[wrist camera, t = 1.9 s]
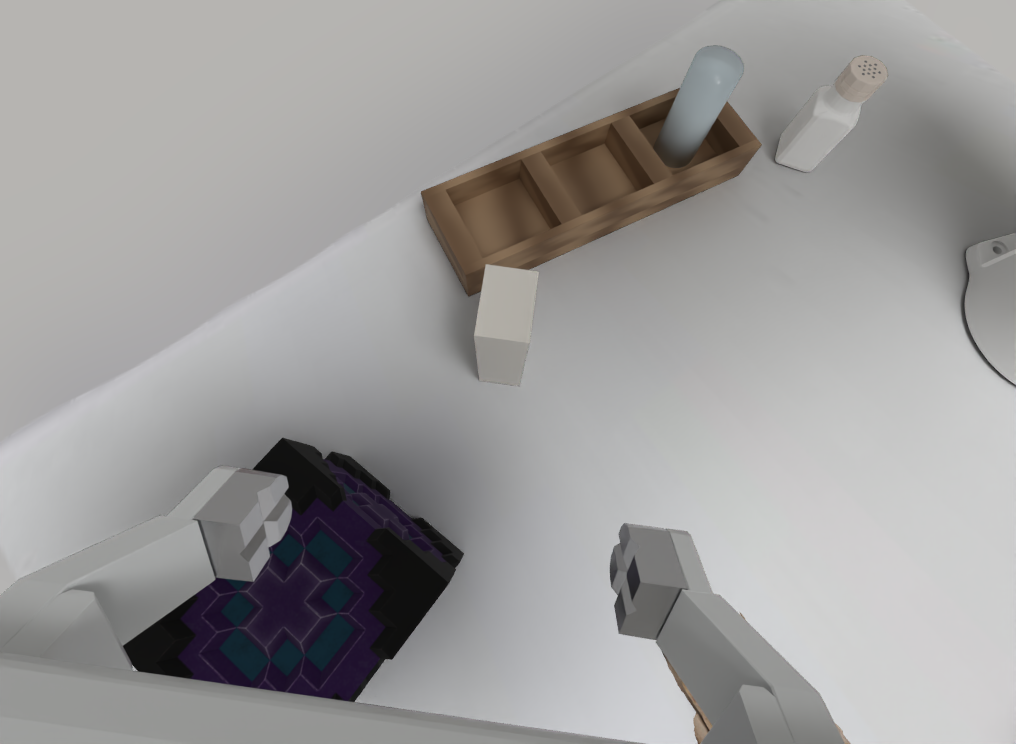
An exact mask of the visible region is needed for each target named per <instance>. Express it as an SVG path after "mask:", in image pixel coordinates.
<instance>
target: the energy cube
mask: <svg viewBox="0 0 1016 744" xmlns="http://www.w3.org/2000/svg"><path fill="white" fill-rule="evenodd" d="M253 470H256V471H262V472H268V473H274V474H280V475H283V476H286V477H287V481H288V486H289V488H288V489H287V490H286V492H285V493H284V494H285V495H286V496H287V497H288V498H289V499H290V500H291V505H292V514H291V520H290V523H289V525H288V528H287V531H286V532H285V534H284V536H283V537H282V539H281V540H280V541H279V542H277V543H275V544H274V545H272V546H270V547H269V553H270V557H269V559H268V560H267V562H266V564H265V565H264V567H263V568H262V570H261V571H260V573H259V574H258V576H257V577H256V579H255V580H254V582H251V581H242V580H233V579H224V578H215V580H214V581H213V582H212V583H210V584H209V585H207V586H206V587H205V588H203V589H202V590H200V591H199V592H198V593H196V594H195V595H193V596H192V597H191V598H189V599H188V600H186V601H185V602H184V603H182V604H181V605H179V606H178V607H176V608H175V609H174V610H172V611H171V612H169V613H168V614H167V615H165V616H164V617H162V618H161V619H160V620H158V621H157V622H155V623H154V624H153V625H151V626H150V627H148V628H147V629H146V630H144V631H143V632H141V633H140V634H139V635H137V636H136V637H134V638H133V639H132V640H130V641H129V642H127V643H126V644H124V645H123V648H124V650H125V652H126V653H127V655H128V657H129V659H130V661H131V663H132V665H133V666H134V667H135V668H136V669H137V670H138V671H139V672H145V673H152V674H159V675H166V676H173V677H180V678H187V679H194V680H202V681H209V682H216V683H223V684H230V685H237V686H244V687H251V688H258V689H265V690H272V691H279V692H286V693H293V694H300V695H307V696H314V697H321V698H328V699H335V700H342V701H349V702H354V701H355V700H356V699H357V697H358V696H359V695H360V693H361V692H362V691H363V689H364V688H365V686H366V685H367V683H368V682H369V681H370V679H371V678H372V677H373V675H374V674H375V673H376V671H377V670H378V669H379V667H380V666H381V664H382V663H383V661H384V660H385V659H391V660H392V659H393V658H394V656H395V655H396V654H397V652H398V651H399V649H400V648H401V647H402V645H403V644H404V643H405V641H406V640H407V639H408V637H409V636H410V635H411V633H412V632H413V631H414V629H415V628H416V627H417V625H418V624H419V623H420V621H421V620H422V619H423V617H424V616H425V615H426V613H427V612H428V611H429V609H430V608H431V607H432V605H433V604H434V603H435V601H436V600H437V599H438V597H439V596H440V595H441V593H442V592H443V591H444V589H445V588H446V587H447V585H448V584H449V582H450V580H451V578H452V576H453V574H454V572H455V570H456V569H455V568H456V566H457V565H458V564H459V562H460V561H461V559H462V557H463V555H464V553H463V552H461V551H460V550H459V549H458V548H457V547H456V546H454V545H453V544H452V543H451V542H450V541H449V540H447V539H446V538H445V537H444V536H443V535H442V534H440V533H439V532H438V531H437V530H436V529H434V528H433V527H432V526H431V525H430V524H429V523H427V522H426V521H425V520H424V519H423V518H416V519H412V518H410V517H409V516H408V515H407V514H406V513H405V512H403V511H402V510H401V509H400V508H399V507H398V506H396V505H395V504H394V503H393V502H392V501H391V500H389V496H390V490H389V489H388V488H386V487H385V486H384V485H383V484H382V483H381V482H379V481H378V480H377V479H376V478H375V477H374V476H372V475H371V474H370V473H369V472H368V471H367V470H365V469H364V468H363V467H362V466H361V465H359V464H358V463H357V462H356V461H355V460H354V459H352V458H351V457H350V456H346V455H343V454H339V453H335V452H331V453H330V454H329V455H328V456H327V457H326V459H323V458H322V454H321V453H320V452H319V451H318V450H317V449H316V448H315V447H313V446H310V445H307V444H303V443H299V442H296V441H292V440H289V439H285V438H282V439H281V440H280V441H279V442H278V443H277V444H276V445H275V446H274V447H273V448H272V449H271V450H270V451H269V452H268V453H267V455H266V456H265V457H264V458H263V459H262V460H261V461H260V462H259V463H258V464H257V465H256V466H255V467H254V468H253Z"/></svg>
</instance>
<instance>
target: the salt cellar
mask: <svg viewBox="0 0 1016 744" xmlns="http://www.w3.org/2000/svg"><path fill="white" fill-rule="evenodd" d="M743 72H744V65H743V62H742V60H741V58H740V57H739V56H738V55H737V54H736V53H735V52H734V51H732V50H730V49H728V48H726V47H723V46H716V45H713V46H707V47H704V48H702V49H700V50H699V51H698V52H697V53H696V55H695V57H694V59H693V61H692V63H691V66H690V68H689V70H688V72H687V74H686V76H685V79H684V81H683V83H682V85H681V87H680V90H679V92H678V94H677V96H676V98H675V100H674V103H673V105H672V107H671V109H670V111H669V114H668V116H667V118H666V120H665V122H664V124H663V127H662V129H661V131H660V133H659V135H658V138H657V140H656V142H655V144H654V150H655V152H656V153H657V155H658V156H659V157H660V159H661V160H662V162H663V163H664V164H665V166H668V167H671V168H681V167H684V166H686V165H688V164H689V163H690V162H691V161H692V159H693V157H694V156H695V154H696V152H697V151H698V149H699V147H700V146H701V144H702V142H703V141H704V139H705V137H706V135H707V134H708V132H709V130H710V129H711V127H712V125H713V124H714V122H715V120H716V119H717V117H718V115H719V113H720V112H721V110H722V108H723V107H724V105H725V103H726V102H727V100H728V98H729V97H730V95H731V93H732V92H733V90H734V88H735V86H736V85H737V83H738V81H739V80H740V78H741V76H742V74H743Z"/></svg>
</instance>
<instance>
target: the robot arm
mask: <svg viewBox="0 0 1016 744" xmlns="http://www.w3.org/2000/svg"><path fill="white" fill-rule="evenodd" d="M966 261H967V266H968V270H969V274H970V276H969V283H968V287H967V290H966V295H965V314H966V319H967V323H968V327H969V329H970V332H971V334H972V336H973V339H974V341H975V342H976V344H977V346H978V347H979V349H980V351H981V352H982V353H983V355H984V356H985V357H986V359H987V360H988V361H989V362H990V363H991V364H992V365H993V366H994V368H995V369H996V370H998V371H999V372H1000V373H1001V374H1002V375H1003V376H1004V377H1006V378H1007V379H1008V380H1009V381H1011V382H1012V383H1014V384H1015V385H1016V233H1013V234H1009V235H1005V236H1002V237H998V238H994V239H991V240H987V241H983V242H980V243H978V244H975V245H973V246H971V247H969V248H968V249H967V251H966ZM288 488H289V486H288V481H287V477H286V476H283V475H280V474H274V473H268V472H262V471H256V470H250V469H244V468H236V467H230V466H224V465H221V466H218V467H216V468H214V469H213V470H212V471H211V472H210V473H209V474H208V475H207V476H206V477H205V478H204V479H203V480H202V481H201V482H200V483H199V484H198V485H197V486H196V487H195V488H194V489H193V490H192V491H191V492H190V493H189V494H188V495H187V496H186V497H185V498H184V499H183V500H182V501H181V502H180V503H179V504H178V505H177V506H176V507H175V508H174V509H173V510H172V511H171V512H170V513H169V514H168V515H167V516H162V515H159V516H157V517H155V518H153V519H151V520H148V521H146V522H144V523H142V524H139V525H137V526H135V527H133V528H131V529H128V530H126V531H124V532H122V533H120V534H117V535H115V536H113V537H111V538H109V539H106V540H104V541H102V542H100V543H98V544H95V545H93V546H91V547H89V548H87V549H84V550H82V551H80V552H78V553H76V554H73V555H71V556H69V557H67V558H65V559H62V560H60V561H58V562H56V563H53V564H51V565H49V566H47V567H45V568H42V569H40V570H38V571H36V572H34V573H31V574H29V575H27V576H25V577H23V578H20V579H19V580H17V581H16V582H15V583H14V584H13V585H11V586H10V587H9V588H8V589H7V590H6V591H4V592H3V593H2V594H1V595H0V744H644V743H637V742H630V741H623V740H616V739H609V738H602V737H595V736H588V735H581V734H574V733H567V732H560V731H553V730H546V729H539V728H532V727H525V726H518V725H511V724H504V723H497V722H490V721H483V720H476V719H469V718H462V717H455V716H448V715H441V714H434V713H427V712H420V711H413V710H406V709H399V708H392V707H385V706H378V705H371V704H364V703H357V702H349V701H342V700H335V699H328V698H321V697H314V696H307V695H300V694H293V693H286V692H279V691H272V690H265V689H258V688H251V687H244V686H237V685H230V684H223V683H216V682H209V681H202V680H194V679H187V678H180V677H173V676H166V675H159V674H152V673H145V672H138V671H132V663H131V661H130V659H129V657H128V655H127V653H126V652H125V650H124V648H123V645H124V644H126V643H127V642H129V641H130V640H132V639H133V638H134V637H136V636H137V635H139V634H140V633H141V632H143V631H144V630H146V629H147V628H148V627H150V626H151V625H153V624H154V623H155V622H157V621H158V620H160V619H161V618H162V617H164V616H165V615H167V614H168V613H169V612H171V611H172V610H174V609H175V608H176V607H178V606H179V605H181V604H182V603H184V602H185V601H186V600H188V599H189V598H191V597H192V596H193V595H195V594H196V593H198V592H199V591H200V590H202V589H203V588H205V587H206V586H207V585H209V584H210V583H212V582H213V581H214V580H215V578H224V579H233V580H242V581H251V582H254V580H255V579H256V577H257V576H258V574H259V573H260V571H261V570H262V568H263V567H264V565H265V564H266V562H267V560H268V559H269V557H270V553H269V547H270V546H272V545H274V544H275V543H277V542H279V541H280V540H281V539H282V537H283V536H284V534H285V532H286V531H287V528H288V525H289V523H290V520H291V514H292V505H291V500H290V499H289V498H288V497H287V496H286V495H285V494H284V493H285V492H286V490H287V489H288ZM619 539H620V543H619V544H618V545H616V546H614V549H613V552H612V555H611V562H610V580H611V587H612V589H613V590H614V591H615V592H616V594H617V595H618V597H617V600H616V602H615V605H614V607H615V613H616V619H617V625H618V631H619V634H623V635H629V636H635V637H641V638H647V639H653V640H657V641H656V643H657V645H658V646H659V648H660V649H661V650H662V652H663V653H664V655H665V656H666V658H667V659H668V661H669V662H670V664H671V665H672V667H673V668H674V670H675V671H676V673H677V674H678V676H679V677H680V679H681V680H682V682H683V683H684V684H685V686H686V687H687V689H688V690H689V692H690V693H691V695H692V696H693V698H694V699H695V701H696V702H697V704H698V705H699V707H700V708H701V710H702V711H703V713H704V714H705V715H706V717H707V718H708V720H709V721H710V723H711V724H712V726H713V727H712V728H711V729H710V731H709V732H708V734H707V735H706V736H705V738H704V739H703V741H702V742H701V743H700V744H845V743H844V741H843V739H842V737H841V735H840V733H839V731H838V729H837V727H836V725H835V723H834V721H833V719H832V717H831V715H830V713H829V711H828V709H827V707H826V705H825V703H824V701H823V699H822V697H821V695H820V693H819V692H818V691H817V690H816V689H814V688H813V687H812V686H811V685H810V684H809V683H808V682H807V681H806V680H805V679H804V678H803V677H802V676H801V675H800V674H799V673H798V672H797V671H796V670H795V669H794V668H793V667H792V666H791V665H790V664H789V663H788V662H787V661H786V660H785V659H784V658H783V657H782V656H781V655H780V654H779V653H778V652H777V651H776V650H775V649H774V648H773V647H772V646H771V645H770V644H769V643H768V642H767V641H766V640H765V639H764V638H763V637H762V636H761V635H760V634H759V633H758V632H757V631H756V630H755V629H754V628H753V627H752V626H751V625H750V624H749V623H748V622H747V621H746V620H745V619H744V618H743V617H742V616H741V615H740V614H739V613H738V612H737V611H736V610H735V609H734V608H733V607H732V606H731V605H730V604H729V603H728V602H727V601H726V600H725V599H724V598H722V597H721V596H720V595H718V594H713V592H712V589H711V587H710V584H709V581H708V579H707V576H706V574H705V571H704V568H703V566H702V563H701V561H700V558H699V555H698V553H697V550H696V547H695V545H694V542H693V540H692V537H691V535H690V534H689V533H688V532H687V531H681V530H673V529H664V528H658V527H651V526H643V525H635V524H628V523H624V524H623V525H622V526H621V529H620V532H619Z"/></svg>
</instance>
